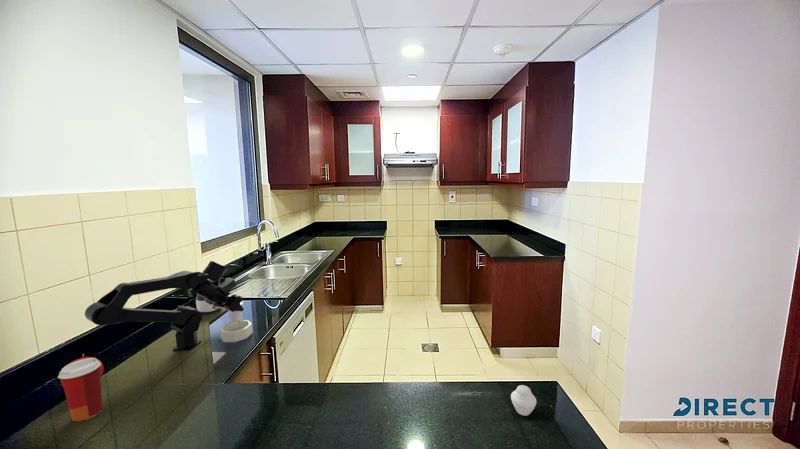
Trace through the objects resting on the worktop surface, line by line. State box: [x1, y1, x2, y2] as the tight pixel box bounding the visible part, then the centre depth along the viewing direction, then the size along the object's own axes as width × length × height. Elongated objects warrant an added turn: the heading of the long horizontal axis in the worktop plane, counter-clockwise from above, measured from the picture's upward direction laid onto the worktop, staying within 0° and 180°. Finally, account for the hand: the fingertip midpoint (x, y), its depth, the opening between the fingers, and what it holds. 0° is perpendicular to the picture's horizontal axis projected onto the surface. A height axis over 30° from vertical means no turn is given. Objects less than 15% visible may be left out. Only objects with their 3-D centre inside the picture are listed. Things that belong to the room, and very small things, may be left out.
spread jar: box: [195, 294, 222, 315], centre depth 151 cm, size 12×11×12 cm
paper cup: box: [57, 357, 103, 422], centre depth 82 cm, size 8×8×14 cm
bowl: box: [219, 319, 253, 343], centre depth 125 cm, size 11×11×4 cm
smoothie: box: [227, 293, 244, 322], centre depth 133 cm, size 6×6×14 cm
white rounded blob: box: [510, 384, 537, 417], centre depth 81 cm, size 6×6×7 cm
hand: (238, 308), depth 134 cm, fingers closed on smoothie, 6 cm apart
